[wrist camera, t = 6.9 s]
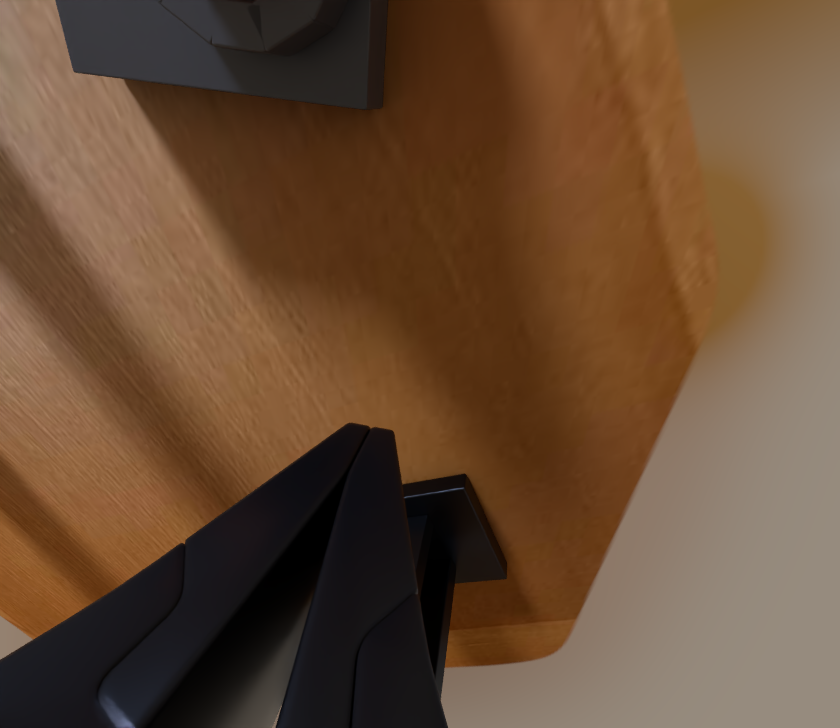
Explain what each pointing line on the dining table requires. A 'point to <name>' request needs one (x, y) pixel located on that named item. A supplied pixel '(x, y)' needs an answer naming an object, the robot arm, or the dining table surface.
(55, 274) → the dining table surface
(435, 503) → the switch bracket
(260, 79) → the button box
